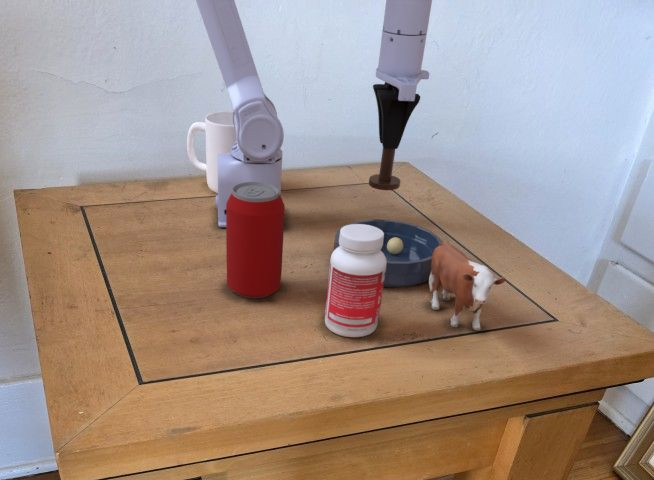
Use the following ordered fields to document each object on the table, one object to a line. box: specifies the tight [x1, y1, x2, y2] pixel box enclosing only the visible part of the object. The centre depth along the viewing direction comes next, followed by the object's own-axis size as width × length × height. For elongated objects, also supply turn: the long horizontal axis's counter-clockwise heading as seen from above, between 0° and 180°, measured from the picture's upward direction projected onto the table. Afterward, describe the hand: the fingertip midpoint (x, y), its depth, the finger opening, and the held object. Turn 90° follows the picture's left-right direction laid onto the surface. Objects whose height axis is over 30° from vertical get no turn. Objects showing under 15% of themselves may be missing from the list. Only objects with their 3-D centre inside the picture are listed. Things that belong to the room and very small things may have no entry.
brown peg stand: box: [368, 147, 401, 191], centre depth 99 cm, size 5×5×10 cm
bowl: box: [332, 218, 443, 288], centre depth 92 cm, size 14×14×4 cm
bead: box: [387, 237, 403, 255], centre depth 94 cm, size 2×2×2 cm
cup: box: [186, 110, 237, 194], centre depth 110 cm, size 8×12×10 cm
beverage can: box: [225, 182, 285, 299], centre depth 83 cm, size 7×7×12 cm
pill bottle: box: [324, 224, 387, 338], centre depth 77 cm, size 6×6×11 cm
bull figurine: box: [428, 241, 507, 332], centre depth 81 cm, size 4×13×8 cm, turn 13°
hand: (388, 145), depth 99 cm, fingers closed on brown peg stand
